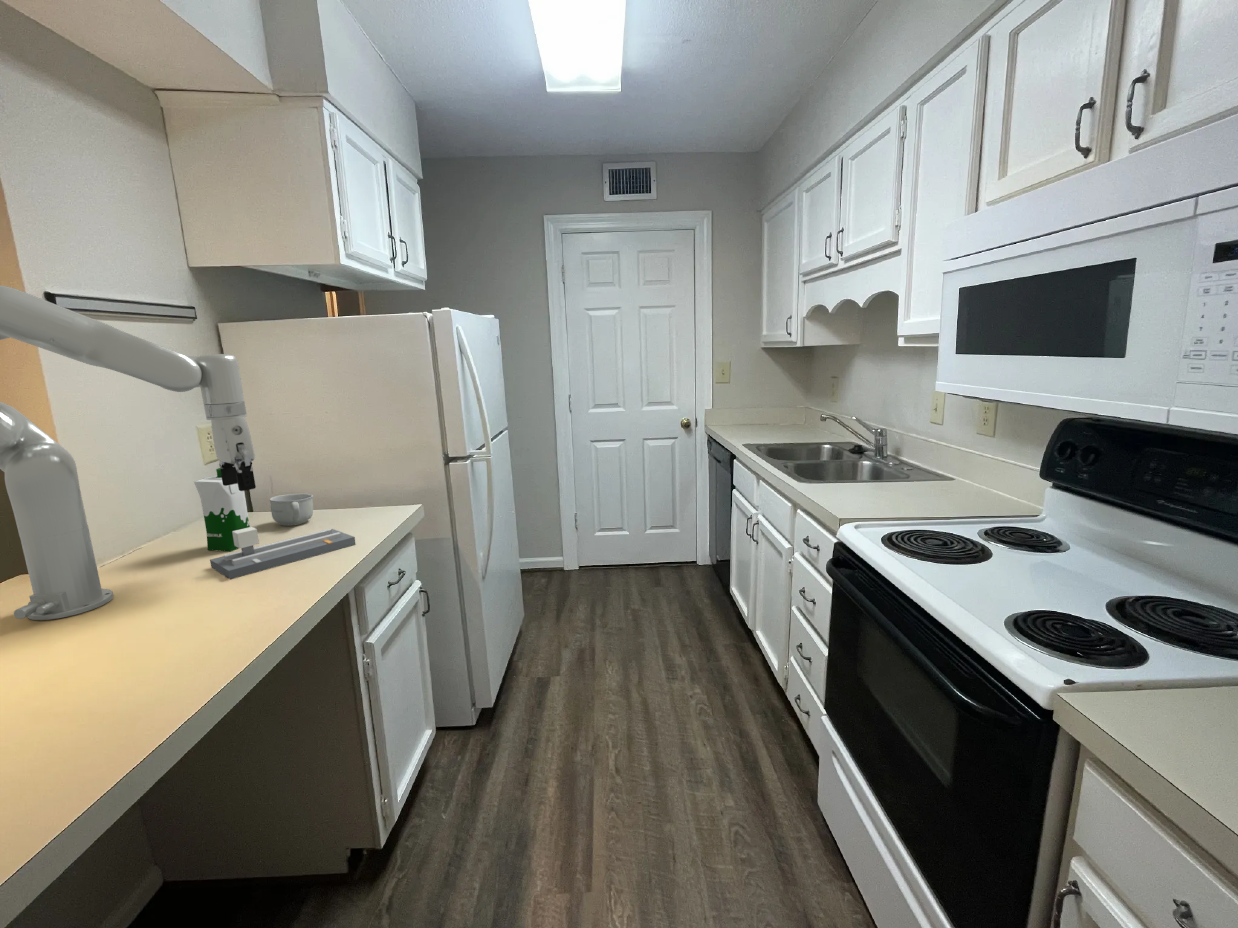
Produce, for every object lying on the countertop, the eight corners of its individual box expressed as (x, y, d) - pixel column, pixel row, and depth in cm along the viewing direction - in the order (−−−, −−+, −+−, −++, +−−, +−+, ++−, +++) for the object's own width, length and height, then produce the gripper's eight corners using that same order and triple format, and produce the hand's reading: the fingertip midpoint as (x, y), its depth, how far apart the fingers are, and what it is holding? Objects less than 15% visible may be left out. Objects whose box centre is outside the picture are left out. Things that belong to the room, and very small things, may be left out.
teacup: (275, 521, 172) (271, 494, 170) (316, 515, 176) (313, 490, 175) (270, 534, 160) (266, 505, 158) (314, 527, 164) (311, 500, 162)
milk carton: (259, 541, 153) (248, 466, 149) (229, 553, 144) (216, 474, 140) (232, 540, 155) (220, 466, 151) (200, 551, 146) (187, 473, 142)
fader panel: (230, 579, 127) (227, 566, 127) (211, 567, 135) (209, 555, 134) (355, 544, 148) (354, 533, 148) (333, 536, 156) (331, 525, 155)
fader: (241, 560, 133) (237, 533, 131) (236, 557, 135) (232, 531, 133) (261, 555, 136) (256, 529, 134) (255, 552, 138) (251, 526, 136)
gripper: (260, 411, 126) (272, 488, 129) (231, 408, 137) (243, 479, 140) (220, 415, 120) (234, 495, 124) (193, 411, 131) (207, 485, 135)
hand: (239, 487), depth 132 cm, fingers open, 9 cm apart
